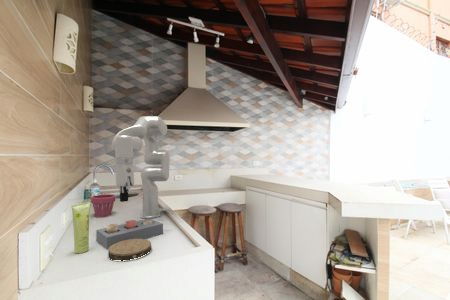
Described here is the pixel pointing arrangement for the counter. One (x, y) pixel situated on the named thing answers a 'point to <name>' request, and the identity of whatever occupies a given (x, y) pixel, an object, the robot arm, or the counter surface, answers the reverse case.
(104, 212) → the plant pot
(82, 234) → the tube
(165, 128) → the robot arm
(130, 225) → the knob red
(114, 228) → the knob
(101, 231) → the knob panel
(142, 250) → the wood log slice
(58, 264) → the counter surface
